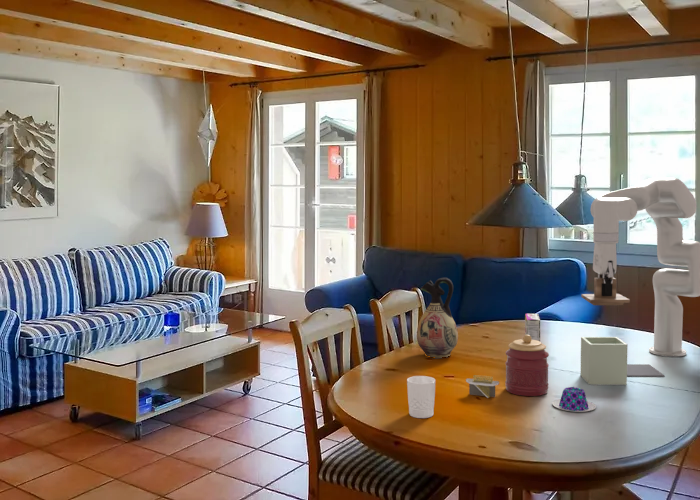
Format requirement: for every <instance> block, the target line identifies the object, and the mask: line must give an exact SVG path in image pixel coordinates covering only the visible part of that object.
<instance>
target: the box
mask: <svg viewBox="0 0 700 500" xmlns="http://www.w3.org/2000/svg"><path fill="white" fill-rule="evenodd" d="M627 364H628V343H626V342H625V341H624V340H622V339H620V338H619V337H618V336H581V337H580V375H579V376H580V377H582V379H583V380H584V381H585V382H586V383H587V384H588V385H591V386H592V385H597V386H598V385H601V386H602V385H603V386H604V385H605V386H606V385H610V386H611V385H614V386H615V385H618V386H619V385H623V386H627V384H628V382H627V381H628V377H627Z"/></svg>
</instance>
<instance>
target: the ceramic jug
mask: <svg viewBox="0 0 700 500" xmlns="http://www.w3.org/2000/svg"><path fill="white" fill-rule="evenodd" d="M441 284H446V285H447V286H448V292H447V296H446V299H445V301H444V302H443V299H442V297H441V296H444V295H445V290H444V289H443V288H442V287H441V286H440V285H441ZM420 291H422V292H425V293H428V294H429V295H430V296H431V302H430V303H429V304H428V306H427V307H426V309H425V310H424V311H423V314H422V315H421V317H420V319H419V322H418V325H417V330H416V340H417V341H416V342H417V344H418V346H419V347H420V349H421V350H422V351H423V352H424V355H425V354H426V355H427V356H430V357H435V358H434V359H443V358H442V357H446V358H449V357H448V356H450V355H451V353H452V351H453V350H454V349H455V347H456V346H457V345H458V340H459V333H458V328H457V324H456V321H455V320H454V318H453V316H452V312H451V309H450V303H451V299H452V297H453V294H454V293H453V292H454V284H453V282H452V280H451V279H450V278H448V277H440V278H437V279H436V281H435V282H434V283H433V281H432V280H431V279H430V280H428V281H427V282H425V284H424V285H423V286H422V287H421V288H420ZM450 357H451V356H450Z"/></svg>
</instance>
